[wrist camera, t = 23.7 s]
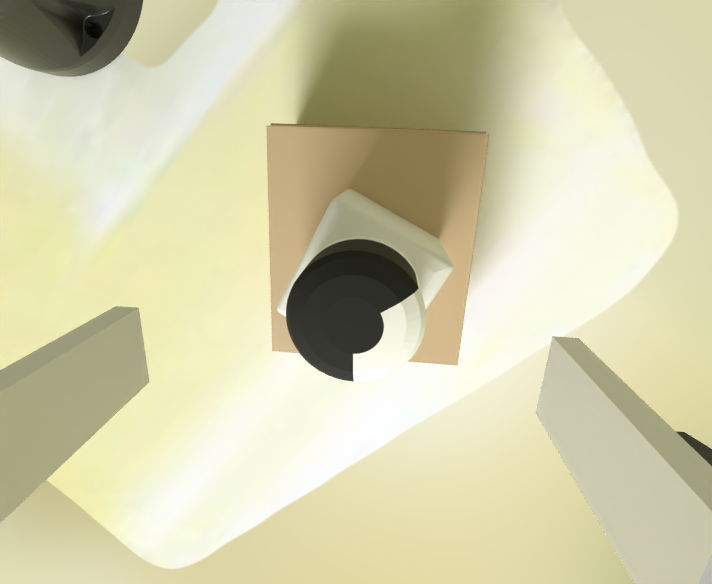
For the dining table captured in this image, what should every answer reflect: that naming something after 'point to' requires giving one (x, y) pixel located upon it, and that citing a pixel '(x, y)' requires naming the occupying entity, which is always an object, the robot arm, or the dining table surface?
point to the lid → (390, 190)
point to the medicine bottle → (363, 290)
